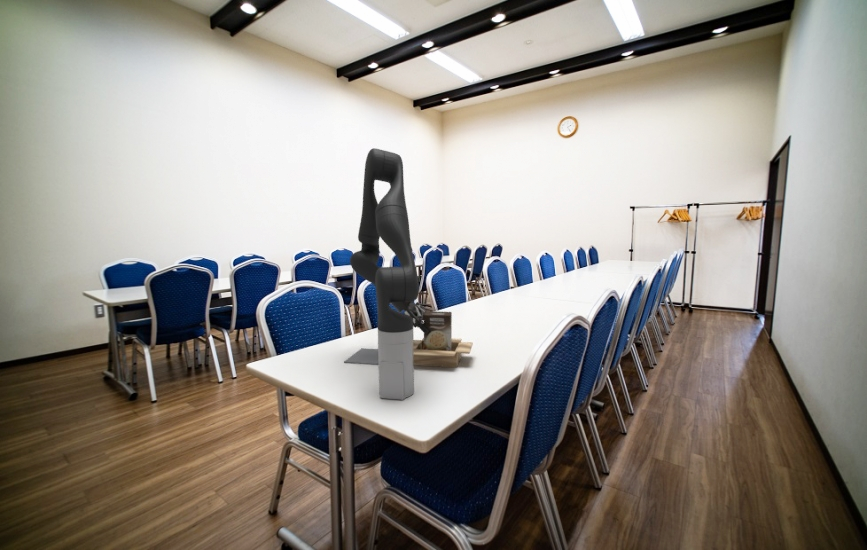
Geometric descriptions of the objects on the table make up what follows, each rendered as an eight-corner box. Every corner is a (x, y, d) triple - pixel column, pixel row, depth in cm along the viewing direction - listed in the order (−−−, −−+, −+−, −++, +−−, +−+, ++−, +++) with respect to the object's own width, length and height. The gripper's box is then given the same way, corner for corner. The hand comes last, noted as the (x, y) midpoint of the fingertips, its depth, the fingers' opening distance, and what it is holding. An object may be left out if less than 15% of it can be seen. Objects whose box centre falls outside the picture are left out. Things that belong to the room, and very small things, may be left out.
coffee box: (423, 363, 120) (422, 314, 119) (425, 357, 127) (424, 310, 125) (451, 364, 119) (450, 315, 118) (452, 357, 126) (451, 311, 124)
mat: (384, 365, 119) (384, 364, 119) (344, 362, 121) (344, 361, 121) (398, 351, 133) (398, 350, 133) (361, 349, 136) (361, 348, 136)
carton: (468, 372, 111) (468, 356, 111) (397, 368, 116) (397, 352, 115) (473, 353, 130) (473, 339, 130) (412, 350, 134) (412, 336, 134)
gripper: (399, 290, 116) (436, 327, 115) (411, 284, 130) (443, 317, 128) (383, 306, 117) (419, 343, 116) (396, 299, 131) (428, 332, 130)
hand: (432, 330), depth 122 cm, fingers open, 8 cm apart
